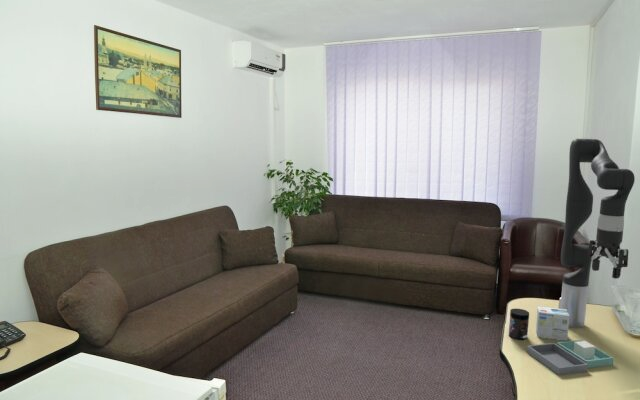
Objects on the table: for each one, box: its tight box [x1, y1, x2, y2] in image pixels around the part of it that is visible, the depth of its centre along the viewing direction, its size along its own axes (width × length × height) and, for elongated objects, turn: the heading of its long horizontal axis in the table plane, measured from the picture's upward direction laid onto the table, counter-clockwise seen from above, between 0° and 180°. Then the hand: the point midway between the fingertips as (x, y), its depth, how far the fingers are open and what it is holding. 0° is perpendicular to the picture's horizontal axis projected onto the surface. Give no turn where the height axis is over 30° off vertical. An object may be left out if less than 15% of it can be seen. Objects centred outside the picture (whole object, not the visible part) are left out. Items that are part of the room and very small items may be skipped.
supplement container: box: [508, 308, 530, 341], centre depth 179 cm, size 7×7×10 cm
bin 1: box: [526, 342, 589, 376], centre depth 161 cm, size 16×11×3 cm
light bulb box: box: [535, 305, 569, 342], centre depth 180 cm, size 11×7×11 cm, turn 71°
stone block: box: [573, 340, 596, 360], centre depth 164 cm, size 4×4×4 cm
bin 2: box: [555, 339, 615, 369], centre depth 164 cm, size 14×11×3 cm
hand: (605, 274), depth 161 cm, fingers open, 8 cm apart
